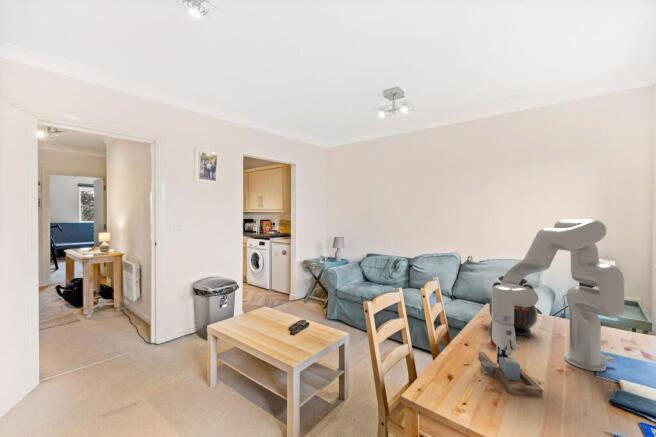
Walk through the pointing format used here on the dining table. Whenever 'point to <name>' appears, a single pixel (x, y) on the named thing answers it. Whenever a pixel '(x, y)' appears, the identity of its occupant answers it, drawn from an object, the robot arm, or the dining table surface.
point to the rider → (509, 368)
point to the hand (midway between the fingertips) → (502, 364)
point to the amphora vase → (521, 314)
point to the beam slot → (492, 369)
